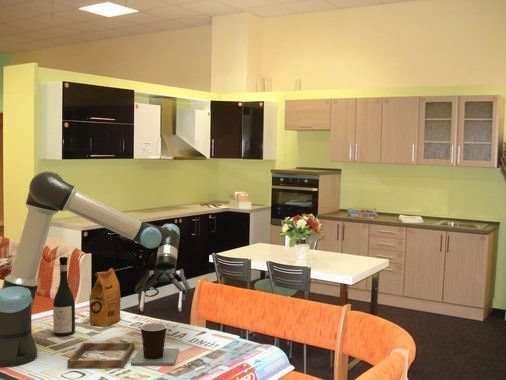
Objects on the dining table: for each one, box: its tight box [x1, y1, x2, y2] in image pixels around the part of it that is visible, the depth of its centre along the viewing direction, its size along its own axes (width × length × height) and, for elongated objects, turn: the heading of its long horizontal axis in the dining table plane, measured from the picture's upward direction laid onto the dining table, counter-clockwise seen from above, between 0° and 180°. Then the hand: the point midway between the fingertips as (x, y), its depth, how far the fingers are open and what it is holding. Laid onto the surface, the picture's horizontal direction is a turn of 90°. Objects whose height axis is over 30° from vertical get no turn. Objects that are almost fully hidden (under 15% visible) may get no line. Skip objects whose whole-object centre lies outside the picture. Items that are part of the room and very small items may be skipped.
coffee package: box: [88, 267, 121, 328], centre depth 225 cm, size 10×12×22 cm
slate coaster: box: [130, 347, 180, 367], centre depth 183 cm, size 14×14×1 cm
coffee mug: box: [140, 322, 167, 359], centre depth 184 cm, size 12×9×10 cm
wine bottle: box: [52, 256, 76, 337], centre depth 210 cm, size 8×8×30 cm
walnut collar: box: [66, 342, 136, 369], centre depth 183 cm, size 18×18×2 cm
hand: (160, 309), depth 191 cm, fingers open, 13 cm apart
